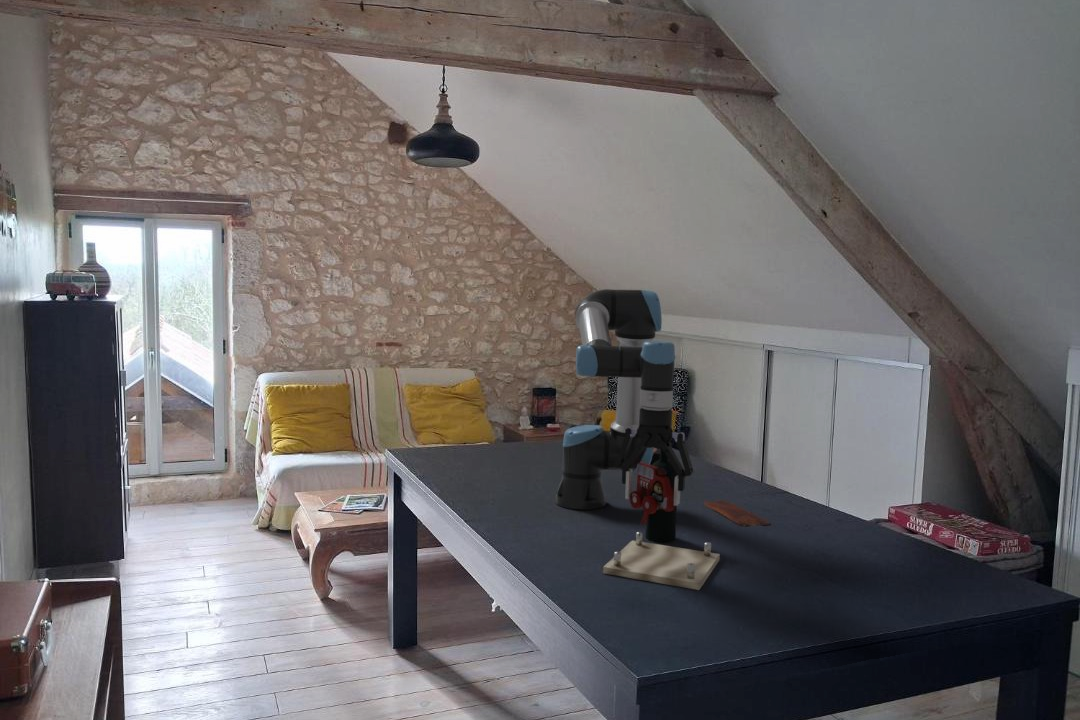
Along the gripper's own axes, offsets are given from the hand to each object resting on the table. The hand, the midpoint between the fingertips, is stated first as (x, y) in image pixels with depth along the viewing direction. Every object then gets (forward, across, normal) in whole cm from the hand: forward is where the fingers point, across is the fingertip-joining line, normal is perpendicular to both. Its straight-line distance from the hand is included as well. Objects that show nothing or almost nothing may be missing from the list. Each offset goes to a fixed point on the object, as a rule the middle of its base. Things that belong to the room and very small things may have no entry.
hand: (652, 501), depth 190 cm
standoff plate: (+15, +3, 0) cm, 16 cm away
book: (+16, -42, +113) cm, 122 cm away
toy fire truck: (+2, 0, 0) cm, 2 cm away
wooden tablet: (+16, +9, +56) cm, 59 cm away
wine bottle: (+15, -4, +20) cm, 26 cm away
